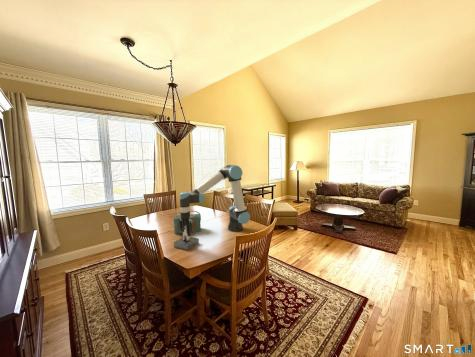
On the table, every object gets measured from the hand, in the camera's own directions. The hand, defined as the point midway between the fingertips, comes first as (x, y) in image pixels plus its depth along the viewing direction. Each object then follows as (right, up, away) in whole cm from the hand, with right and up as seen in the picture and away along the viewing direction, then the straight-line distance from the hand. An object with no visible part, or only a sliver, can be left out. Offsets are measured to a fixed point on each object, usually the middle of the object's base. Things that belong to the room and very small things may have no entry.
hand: (186, 239), depth 163 cm
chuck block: (0, -5, +1) cm, 5 cm away
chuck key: (0, -1, 0) cm, 1 cm away
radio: (-7, -2, +32) cm, 33 cm away
